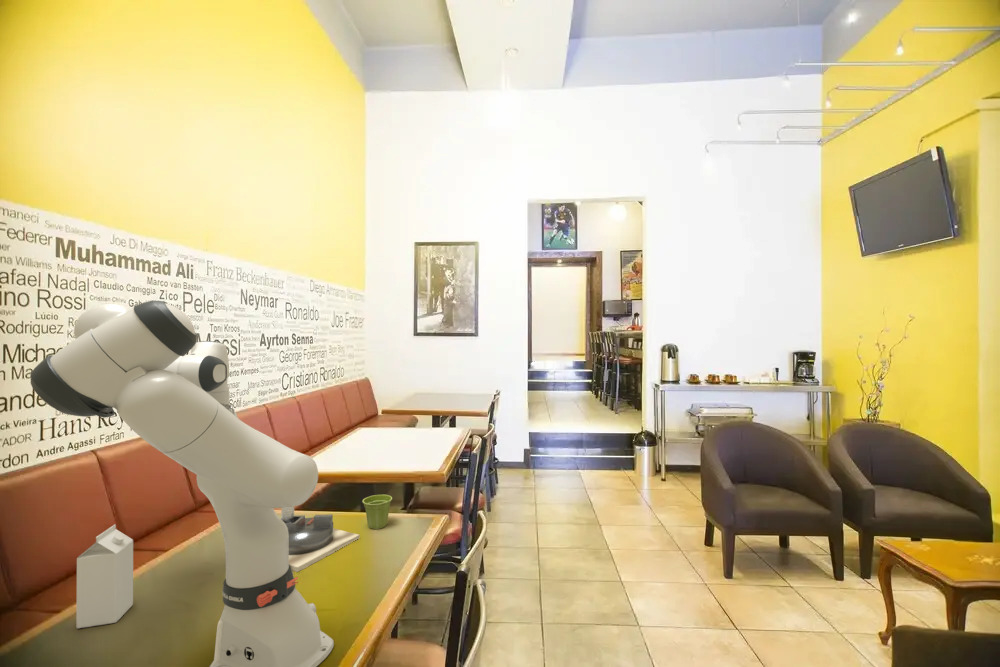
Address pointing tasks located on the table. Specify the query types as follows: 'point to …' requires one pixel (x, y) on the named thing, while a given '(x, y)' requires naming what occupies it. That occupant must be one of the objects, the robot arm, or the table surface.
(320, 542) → the grey disc with tab
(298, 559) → the board
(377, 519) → the plant pot
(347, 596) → the table surface
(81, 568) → the milk carton
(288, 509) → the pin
